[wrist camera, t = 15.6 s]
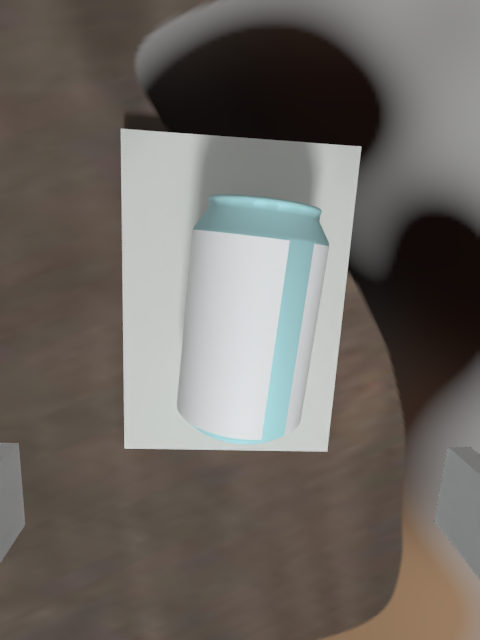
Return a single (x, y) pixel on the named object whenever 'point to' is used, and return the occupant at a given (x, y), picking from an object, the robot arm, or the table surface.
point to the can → (250, 317)
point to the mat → (174, 259)
